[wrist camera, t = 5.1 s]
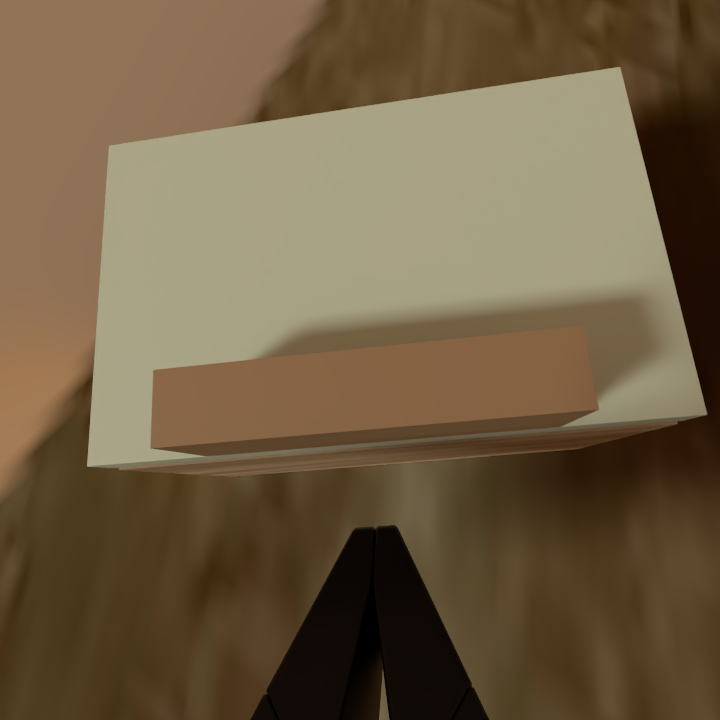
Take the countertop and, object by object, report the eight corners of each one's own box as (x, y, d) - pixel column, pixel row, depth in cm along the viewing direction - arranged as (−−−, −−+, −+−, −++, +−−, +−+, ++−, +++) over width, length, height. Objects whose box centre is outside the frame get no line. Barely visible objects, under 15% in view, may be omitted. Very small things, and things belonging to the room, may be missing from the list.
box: (577, 449, 19) (677, 424, 12) (231, 476, 21) (119, 470, 13) (539, 240, 22) (603, 105, 14) (230, 278, 23) (134, 174, 15)
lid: (683, 420, 11) (791, 392, 8) (111, 468, 13) (2, 461, 10) (606, 96, 14) (665, -31, 10) (128, 167, 15) (44, 76, 12)
